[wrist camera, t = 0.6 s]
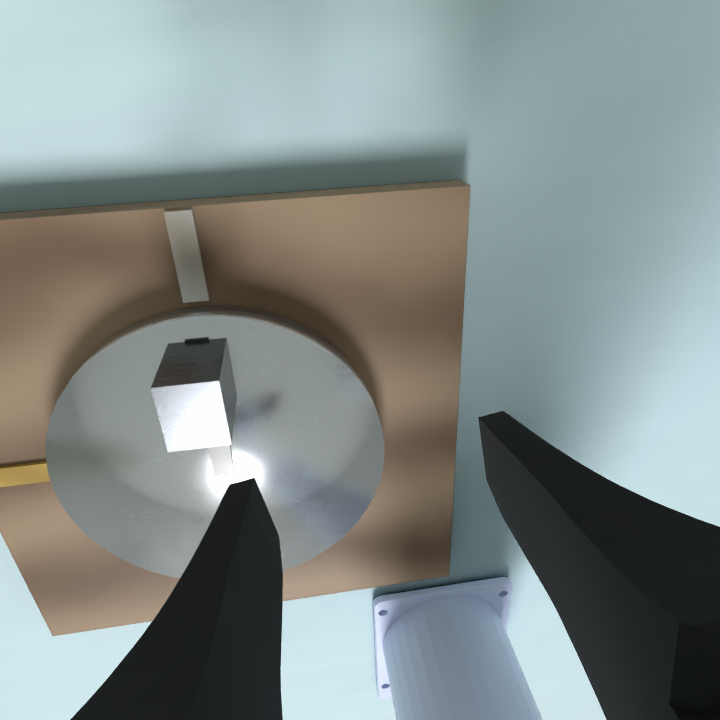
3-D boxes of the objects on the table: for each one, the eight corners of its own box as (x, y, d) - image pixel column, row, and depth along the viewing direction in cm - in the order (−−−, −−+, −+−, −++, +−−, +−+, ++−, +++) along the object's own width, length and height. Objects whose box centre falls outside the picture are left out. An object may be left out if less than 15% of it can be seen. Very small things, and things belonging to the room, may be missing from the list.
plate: (442, 557, 29) (449, 578, 28) (61, 614, 27) (51, 639, 26) (459, 179, 20) (471, 186, 19) (-127, 221, 18) (-156, 232, 16)
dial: (382, 539, 26) (400, 615, 22) (107, 578, 25) (78, 666, 21) (375, 289, 20) (398, 338, 16) (6, 323, 19) (-60, 385, 15)
